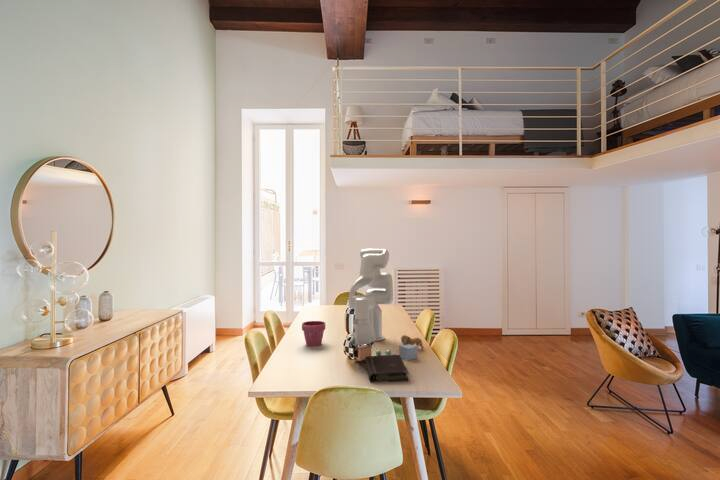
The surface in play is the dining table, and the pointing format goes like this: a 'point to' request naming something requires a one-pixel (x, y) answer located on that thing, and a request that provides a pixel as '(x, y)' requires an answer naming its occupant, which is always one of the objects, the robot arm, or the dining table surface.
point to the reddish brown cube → (363, 352)
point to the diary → (386, 368)
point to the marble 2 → (388, 352)
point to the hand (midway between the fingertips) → (362, 355)
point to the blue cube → (408, 352)
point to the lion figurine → (411, 341)
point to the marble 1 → (378, 352)
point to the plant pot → (313, 332)
